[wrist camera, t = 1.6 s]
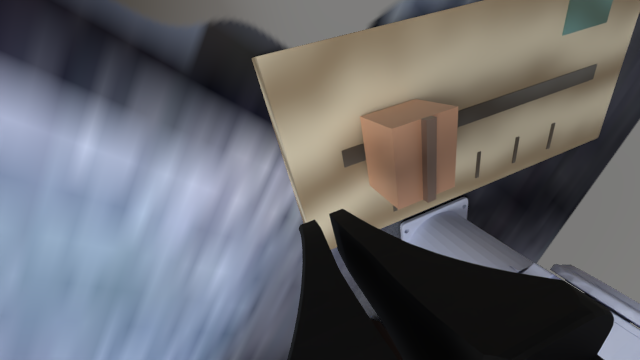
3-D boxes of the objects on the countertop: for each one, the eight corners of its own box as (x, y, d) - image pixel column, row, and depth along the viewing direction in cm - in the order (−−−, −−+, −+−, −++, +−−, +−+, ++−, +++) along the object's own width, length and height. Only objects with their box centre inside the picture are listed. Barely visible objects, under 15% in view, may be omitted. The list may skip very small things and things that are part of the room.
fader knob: (417, 167, 18) (459, 189, 15) (369, 185, 18) (402, 213, 14) (415, 98, 16) (464, 107, 13) (359, 116, 15) (396, 130, 12)
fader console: (562, 130, 27) (599, 137, 25) (306, 232, 22) (317, 256, 19) (603, -29, 21) (659, -44, 18) (251, 58, 15) (256, 56, 12)
